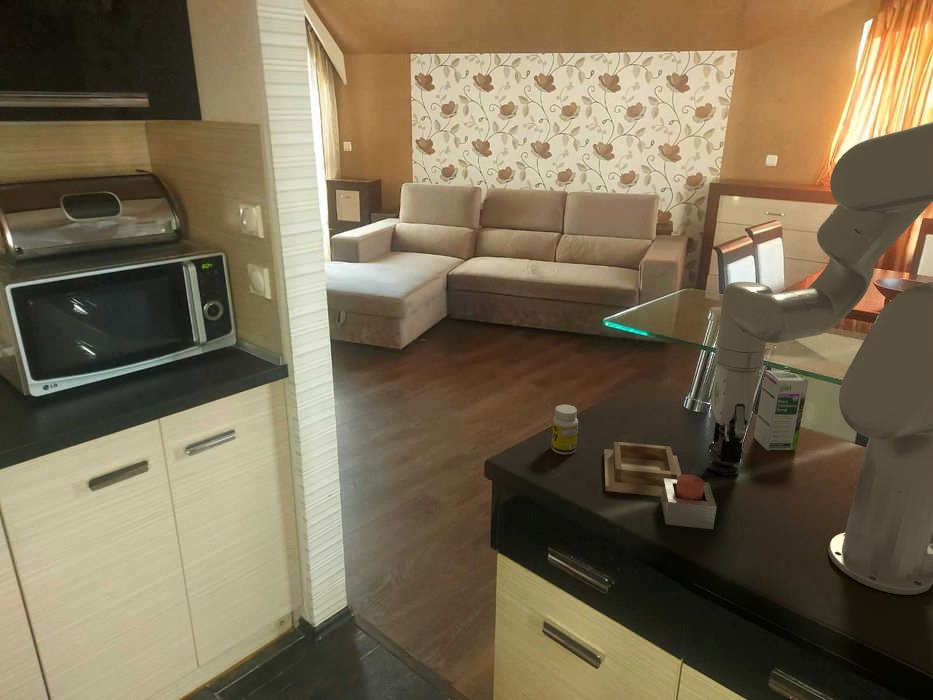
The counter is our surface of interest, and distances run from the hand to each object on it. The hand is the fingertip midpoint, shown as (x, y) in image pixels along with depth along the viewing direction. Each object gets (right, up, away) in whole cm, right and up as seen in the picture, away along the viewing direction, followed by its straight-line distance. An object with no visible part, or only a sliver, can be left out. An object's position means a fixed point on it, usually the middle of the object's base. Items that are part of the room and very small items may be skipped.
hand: (726, 451), depth 114 cm
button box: (-11, -8, -12) cm, 18 cm away
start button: (-11, -5, -13) cm, 18 cm away
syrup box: (+14, 0, +11) cm, 18 cm away
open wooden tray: (-15, -4, 0) cm, 15 cm away
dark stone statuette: (0, -3, +1) cm, 3 cm away
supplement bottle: (-28, -1, +8) cm, 29 cm away
